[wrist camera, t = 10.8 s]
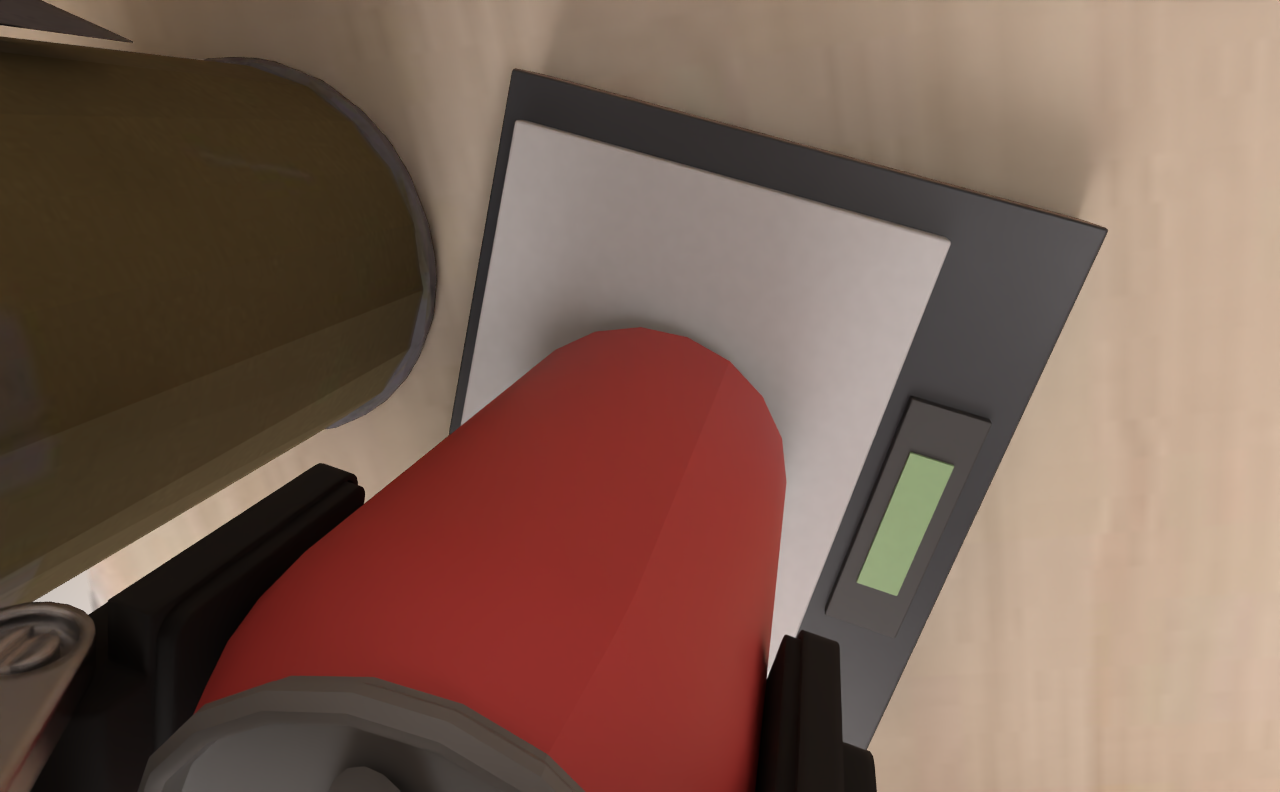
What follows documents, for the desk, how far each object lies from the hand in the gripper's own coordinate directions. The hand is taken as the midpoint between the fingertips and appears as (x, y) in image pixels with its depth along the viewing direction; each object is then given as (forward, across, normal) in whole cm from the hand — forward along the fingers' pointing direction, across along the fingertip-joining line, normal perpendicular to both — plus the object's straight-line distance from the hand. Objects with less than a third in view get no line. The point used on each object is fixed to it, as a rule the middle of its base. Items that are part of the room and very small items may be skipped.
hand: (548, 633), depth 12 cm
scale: (+10, -1, 0) cm, 10 cm away
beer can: (+7, 0, 0) cm, 7 cm away
